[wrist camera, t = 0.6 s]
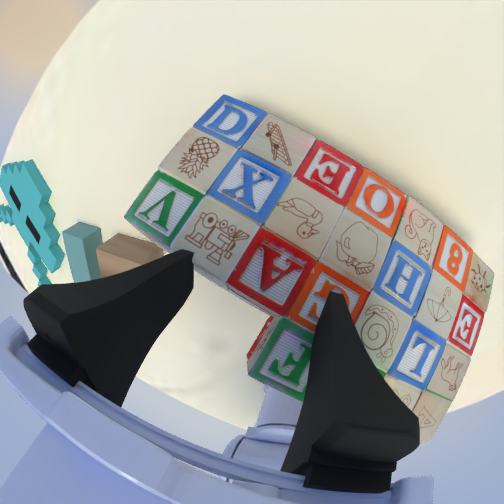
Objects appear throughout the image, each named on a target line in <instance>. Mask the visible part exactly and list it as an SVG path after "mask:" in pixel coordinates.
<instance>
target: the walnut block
mask: <svg viewBox="0 0 504 504" xmlns="http://www.w3.org/2000/svg"><path fill="white" fill-rule="evenodd" d="M96 253H97V259H98V264H99V269H100V274H101V278H104V277H108V276H112V275H115V274H119V273H122V272H125V271H128V270H130V269H133V268H136V267H138V266H141V265H144V264H146V263H149V262H151V261H153V260H156V259H158V258H161V257H163V249H162V248H160V247H159V246H157V245H156V244H154V243H151V242H147V241H144V240H140V239H137V238H133V237H130V236H126V235H123V234H119V233H118V234H117V235H115V236H114V237H112V238H111V239H109V240H108V241H106V242H105V243H103V244H102V245H100V246H99V247H97V248H96Z"/></svg>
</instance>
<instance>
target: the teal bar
mask: <svg viewBox="0 0 504 504" xmlns="http://www.w3.org/2000/svg"><path fill="white" fill-rule="evenodd" d="M62 234H63V239H64V244H65V248H66V253H67V257H68V261H69V265H70V269H71V273H72V276H73V280H74V283H77V282H84V281H89V280H94V279H99V278H101V274H100V269H99V264H98V259H97V253H96V248H97V247H99V246H100V245H102V238H101V231H100V228H98V227H94V226H91V225H88V224H84V223H81V222H79V223H77V224H75V225H73V226H72V227H70V228H68V229H66V230H65V231H63V232H62Z"/></svg>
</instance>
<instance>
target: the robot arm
mask: <svg viewBox="0 0 504 504" xmlns="http://www.w3.org/2000/svg"><path fill="white" fill-rule="evenodd" d="M193 255H194V252H191V251H188V250H184V249H181V250H178V251H175V252H173V253H170V254H168V255H165V256H163V257H161V258H158V259H156V260H153V261H151V262H149V263H146V264H144V265H141V266H138V267H136V268H133V269H130V270H128V271H125V272H122V273H119V274H115V275H112V276H108V277H104V278H99V279H94V280H89V281H84V282H77V283H68V284H42V285H40V286H39V287H38V288H37V289H35V290H34V291H33V292H32V293H30V294H29V295H28V296H27V297H26V298H25V299H24V308H25V311H26V313H27V316H28V318H29V320H30V322H31V324H32V326H33V327H34V330H35V331H36V333H37V334H36V335H35V336H34V337H33V339H31V340H29V338H28V335H27V333H26V332H25V330H24V329H23V327H22V326H21V325H20V324H19V323H18V322H17V321H16V320H15V319H14V318H13V317H12V316H9V317H8V318H6V319H5V320H4V321H3V322H2V323H1V324H0V373H1V374H2V375H3V376H4V378H5V379H6V380H7V381H8V383H9V384H10V385H11V386H12V387H13V388H14V390H15V391H16V392H17V393H18V394H19V395H20V396H21V397H22V398H23V399H24V401H25V402H27V404H28V405H29V406H30V407H31V408H32V409H33V410H34V411H35V412H36V413H37V414H38V415H39V416H40V417H41V418H42V419H43V420H45V421H46V422H47V425H46V426H45V427H44V429H43V430H42V431H41V432H40V434H39V435H38V436H37V438H36V439H35V440H34V442H33V443H32V444H31V446H30V447H29V449H28V450H27V451H26V453H25V454H24V456H23V457H22V458H21V460H20V461H19V462H18V464H17V465H16V467H15V468H14V470H13V471H12V473H11V474H10V475H9V477H8V478H7V480H6V481H5V483H4V484H3V486H2V487H1V489H0V504H432V500H433V484H434V477H433V476H420V477H408V478H404V479H400V480H398V481H397V482H395V483H391V475H392V474H391V473H392V472H394V471H395V470H396V464H397V461H398V460H400V459H402V458H403V457H405V456H407V455H408V454H410V453H411V452H413V451H414V450H415V449H416V448H417V447H418V446H419V444H420V425H419V418H418V417H417V416H416V415H415V414H414V413H413V412H412V411H411V410H410V409H409V408H408V407H407V406H406V405H405V404H404V403H403V402H402V400H401V399H400V398H399V397H398V396H397V395H396V393H395V392H394V391H393V390H392V389H391V387H390V386H389V385H388V383H387V382H386V381H385V379H384V378H383V376H382V375H381V374H380V372H379V371H378V369H377V368H376V366H375V365H374V363H373V361H372V359H371V358H370V356H369V354H368V352H367V351H366V349H365V347H364V344H363V342H362V340H361V338H360V336H359V334H358V331H357V329H356V327H355V324H354V322H353V319H352V317H351V314H350V311H349V308H348V305H347V303H346V300H345V297H344V295H343V294H340V293H336V292H332V291H329V294H328V297H327V299H326V302H325V305H324V307H323V310H322V312H321V315H320V317H319V320H318V322H317V325H316V329H315V333H314V338H313V342H312V348H311V356H310V364H309V372H308V380H307V387H306V392H305V397H304V400H303V402H301V401H298V400H296V399H294V398H292V397H290V396H288V395H286V394H284V393H282V392H280V391H278V390H276V389H274V388H272V387H270V386H268V385H265V388H264V392H266V395H265V398H264V401H263V404H262V407H261V410H260V413H259V416H258V419H257V422H256V425H255V427H248V430H247V432H246V435H238V436H237V437H235V438H234V439H233V440H232V441H230V442H229V444H228V445H227V447H226V448H225V450H224V452H223V455H222V454H219V453H216V452H214V451H211V450H208V449H205V448H203V447H200V446H198V445H195V444H193V443H191V442H188V441H186V440H184V439H181V438H179V437H177V436H174V435H172V434H170V433H168V432H166V431H164V430H162V429H159V428H158V427H156V426H154V425H152V424H150V423H148V422H146V421H144V420H142V419H140V418H138V417H136V416H135V415H133V414H131V413H129V412H127V411H126V410H124V409H122V408H121V406H122V404H123V402H124V399H125V397H126V395H127V392H128V390H129V388H130V386H131V384H132V382H133V380H134V378H135V376H136V374H137V372H138V370H139V368H140V366H141V364H142V363H143V361H144V359H145V357H146V355H147V354H148V352H149V350H150V349H151V347H152V345H153V344H154V342H155V341H156V339H157V338H158V337H159V335H160V334H161V333H162V331H163V330H164V329H165V328H166V326H167V325H168V324H169V323H170V321H171V320H172V319H173V318H174V316H175V315H176V314H177V312H178V311H179V310H180V309H181V307H182V306H183V305H184V303H185V301H186V300H187V298H188V296H189V295H190V293H191V291H192V289H193V283H194V264H193V263H192V258H193ZM175 458H177V459H179V460H181V461H184V462H186V463H188V464H191V465H193V466H196V467H198V468H201V469H203V470H206V471H209V472H211V473H214V474H217V475H218V476H219V478H216V477H214V476H211V475H209V474H207V473H204V472H202V471H200V470H198V469H196V468H193V467H191V466H189V465H187V464H185V463H183V462H181V461H179V460H177V459H175Z"/></svg>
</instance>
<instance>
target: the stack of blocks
mask: <svg viewBox="0 0 504 504" xmlns="http://www.w3.org/2000/svg"><path fill="white" fill-rule="evenodd" d="M124 218H125V219H126V220H127V221H128V222H129V223H131V224H132V225H133V226H134V227H135V228H136V229H137V230H138V231H140V232H141V233H142V234H143V235H145V236H146V237H147V238H149V239H150V240H151V241H152V242H154V243H155V244H156V245H157V246H159V247H160V248H162V249H163V250H165V251H166V252H168V253H169V254H170V253H173V252H175V251H178V250H181V249H184V250H188V251H191V252H194V255H193V258H192V263H193V264H194V270H195V271H196V272H198V273H199V274H201V275H202V276H204V277H206V278H207V279H209V280H210V281H212V282H214V283H215V284H217V285H219V286H220V287H222V288H223V289H225V290H227V291H228V292H231V293H232V294H233V295H235V296H236V297H238V298H240V299H242V300H243V301H245V302H247V303H249V304H250V305H252V306H254V307H255V308H257V309H259V310H261V311H263V312H265V313H267V314H268V315H270V317H269V318H268V320H267V321H266V323H265V325H264V327H263V328H262V330H261V332H260V334H259V335H258V337H257V339H256V340H255V342H254V344H253V345H252V347H251V348H250V350H249V352H248V354H247V358H248V361H247V367H248V375H249V376H251V377H252V378H254V379H256V380H258V381H260V382H262V383H264V384H266V385H268V386H270V387H272V388H274V389H276V390H278V391H280V392H282V393H284V394H286V395H288V396H290V397H292V398H294V399H296V400H298V401H301V402H303V400H304V397H305V392H306V387H307V380H308V372H309V364H310V356H311V348H312V342H313V338H314V333H315V329H316V325H317V322H318V320H319V317H320V315H321V312H322V310H323V307H324V305H325V302H326V299H327V297H328V294H329V291H332V292H336V293H340V294H343V295H344V297H345V300H346V303H347V305H348V308H349V311H350V314H351V317H352V319H353V322H354V324H355V327H356V329H357V331H358V334H359V336H360V338H361V340H362V342H363V344H364V347H365V349H366V351H367V352H368V354H369V356H370V358H371V359H372V361H373V363H374V365H375V366H376V368H377V369H378V371H379V372H380V374H381V375H382V376H383V378H384V379H385V381H386V382H387V383H388V385H389V386H390V387H391V389H392V390H393V391H394V392H395V393H396V395H397V396H398V397H399V398H400V399H401V400H402V402H403V403H404V404H405V405H406V406H407V407H408V408H409V409H410V410H411V411H412V412H413V413H414V414H415V415H416V416H417V417H418V418H419V425H420V444H422V445H428V444H429V442H430V441H431V439H432V437H433V436H434V434H435V432H436V430H437V429H438V427H439V425H440V424H441V422H442V420H443V418H444V416H445V414H446V412H447V410H448V408H449V406H450V404H451V403H452V401H453V400H454V398H455V396H456V394H457V391H458V389H459V387H460V385H461V382H462V380H463V377H464V376H465V374H466V371H467V368H468V366H469V363H470V357H471V355H472V353H473V350H474V348H475V345H476V342H477V339H478V336H479V332H480V329H481V326H482V322H483V318H484V313H485V312H486V310H487V307H488V303H489V299H490V294H491V289H492V284H493V278H494V272H493V271H492V270H491V269H490V268H489V267H488V266H487V265H486V264H485V263H484V262H483V261H482V260H481V259H480V258H479V257H478V256H477V255H476V254H475V253H474V252H473V250H472V249H471V248H470V247H469V246H468V245H467V244H466V243H465V242H464V241H463V240H462V239H461V238H460V237H458V236H457V235H456V234H455V233H454V232H453V231H452V230H451V229H449V228H448V227H447V226H445V225H444V224H443V223H442V222H441V221H440V220H439V219H438V218H437V217H435V216H434V215H433V214H432V213H431V212H429V211H428V210H427V209H426V208H424V207H423V206H422V205H421V204H419V203H418V202H417V201H415V200H414V199H413V198H411V197H409V196H406V195H405V194H403V193H402V192H401V191H400V190H399V189H397V188H395V187H394V186H392V185H391V184H389V183H388V182H387V181H385V180H384V179H382V178H381V177H379V176H378V175H376V174H375V173H374V172H372V171H370V170H369V169H367V168H365V167H363V166H362V165H360V164H359V163H357V162H356V161H354V160H352V159H351V158H349V157H348V156H346V155H344V154H343V153H341V152H340V151H338V150H336V149H334V148H333V147H331V146H329V145H327V144H326V143H324V142H322V141H319V140H316V138H315V137H314V136H313V135H311V134H309V133H307V132H305V131H303V130H301V129H299V128H297V127H295V126H293V125H292V124H290V123H288V122H286V121H284V120H282V119H280V118H278V117H275V116H273V115H271V114H268V113H266V112H265V111H263V110H261V109H259V108H256V107H254V106H252V105H250V104H247V103H245V102H242V101H240V100H237V99H235V98H232V97H230V96H227V95H222V96H221V97H220V98H219V99H218V100H217V101H216V102H215V103H214V104H213V105H212V106H211V107H210V108H209V109H208V110H207V111H206V112H205V114H204V115H203V116H202V117H201V118H200V119H199V120H198V121H197V122H196V123H195V124H194V125H193V128H191V129H189V130H188V131H187V132H186V134H185V135H184V136H183V137H182V138H181V139H180V141H179V142H178V143H177V144H176V145H175V146H174V148H173V149H172V150H171V151H170V152H169V154H168V155H167V156H166V157H165V159H164V160H163V161H162V162H161V164H160V165H159V167H158V171H156V172H155V173H154V175H153V176H152V178H151V179H150V180H149V181H148V183H147V184H146V186H145V187H144V188H143V190H142V191H141V193H140V194H139V195H138V197H137V198H136V200H135V201H134V203H133V204H132V206H131V207H130V208H129V210H128V211H127V213H126V214H125V216H124Z"/></svg>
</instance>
